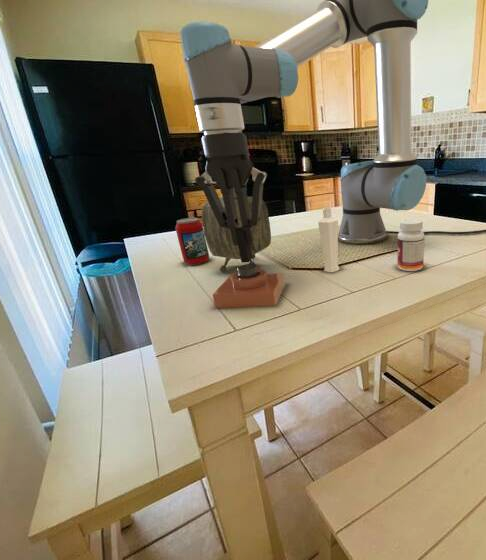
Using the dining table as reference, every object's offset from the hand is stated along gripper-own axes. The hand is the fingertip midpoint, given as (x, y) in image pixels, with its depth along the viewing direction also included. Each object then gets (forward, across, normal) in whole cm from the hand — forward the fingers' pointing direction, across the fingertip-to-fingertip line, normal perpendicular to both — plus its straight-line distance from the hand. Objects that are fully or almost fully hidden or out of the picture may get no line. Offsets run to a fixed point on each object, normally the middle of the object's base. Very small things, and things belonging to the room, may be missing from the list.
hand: (247, 260), depth 68 cm
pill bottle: (+9, +35, +13) cm, 38 cm away
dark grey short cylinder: (+3, 0, 0) cm, 3 cm away
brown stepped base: (+8, 0, 0) cm, 8 cm away
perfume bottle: (+8, +16, +14) cm, 23 cm away
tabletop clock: (+8, -7, +19) cm, 22 cm away
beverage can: (+8, -23, +25) cm, 35 cm away
